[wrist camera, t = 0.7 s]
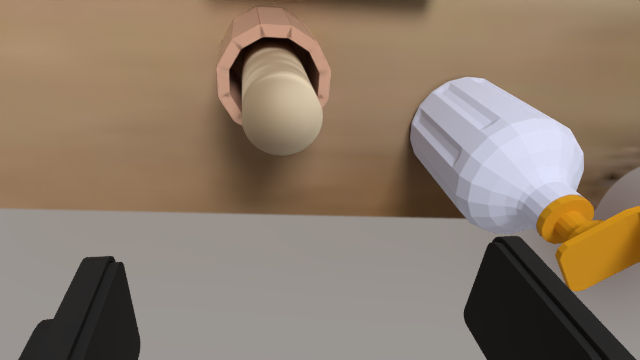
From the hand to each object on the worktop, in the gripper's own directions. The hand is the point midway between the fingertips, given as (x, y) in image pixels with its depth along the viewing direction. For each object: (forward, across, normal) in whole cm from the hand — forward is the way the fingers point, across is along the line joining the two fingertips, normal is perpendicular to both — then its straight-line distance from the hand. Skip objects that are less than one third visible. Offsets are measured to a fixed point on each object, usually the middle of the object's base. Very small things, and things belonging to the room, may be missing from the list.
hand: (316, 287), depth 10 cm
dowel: (+23, 0, 0) cm, 23 cm away
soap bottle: (+24, -17, +5) cm, 30 cm away
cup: (+24, 0, 0) cm, 24 cm away
